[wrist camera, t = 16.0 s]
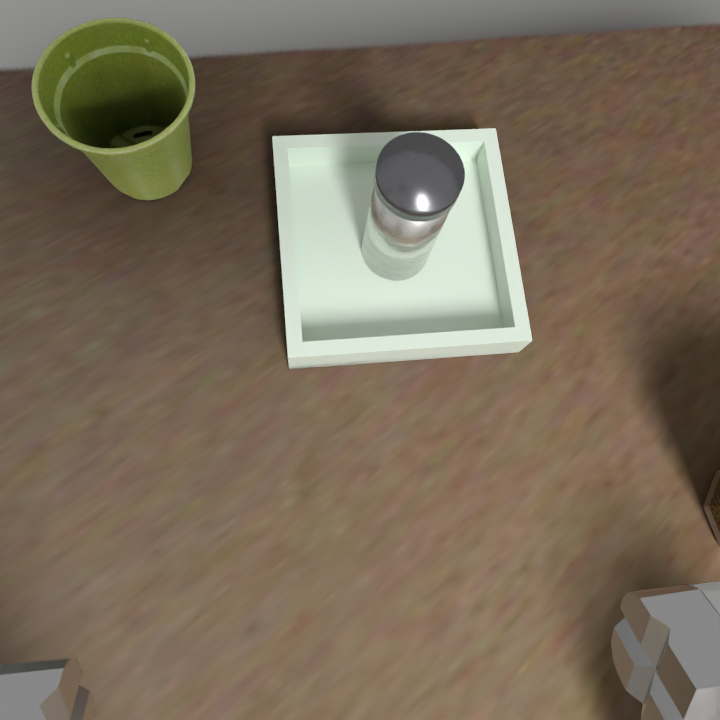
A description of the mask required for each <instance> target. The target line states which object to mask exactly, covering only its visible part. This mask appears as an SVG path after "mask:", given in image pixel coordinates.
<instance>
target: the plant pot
mask: <svg viewBox="0 0 720 720" xmlns="http://www.w3.org/2000/svg"><path fill="white" fill-rule="evenodd" d="M194 96H195V76H194V71H193V67H192V64H191V61H190V59H189V57H188V55H187V54H186V52H185V51H184V49H183V48H182V47H181V46H180V44H179V43H178V42H177V41H176V40H175V39H174V38H173V37H172V36H170V35H169V34H168V33H166V32H165V31H163V30H162V29H160V28H158V27H156V26H154V25H152V24H149V23H146V22H142V21H137V20H133V19H127V18H104V19H100V20H93V21H89V22H85V23H83V24H81V25H79V26H76V27H73V28H71V29H69V30H67V31H66V32H64V33H63V34H61V35H60V36H59V37H58V38H57V39H56V40H54V41H53V42H52V43H51V44H50V45H49V46H48V47H47V48H46V49H45V51H44V52H43V54H42V55H41V57H40V58H39V60H38V62H37V64H36V67H35V69H34V73H33V77H32V97H33V101H34V105H35V108H36V110H37V112H38V114H39V116H40V118H41V119H42V121H43V122H44V124H45V125H46V126H47V128H48V129H49V130H50V131H51V132H52V133H53V134H54V135H55V136H56V137H58V138H59V139H60V140H61V141H63V142H64V143H66V144H68V145H69V146H71V147H73V148H75V149H78V150H80V151H82V152H83V153H84V154H85V155H86V156H87V157H88V158H89V159H90V160H91V161H92V162H93V163H94V165H95V166H96V167H97V168H98V169H99V170H100V171H101V172H102V173H103V175H104V176H105V177H106V178H107V179H108V180H109V181H110V182H111V184H112V185H113V186H114V187H115V188H116V189H118V190H119V191H121V192H122V193H124V194H126V195H128V196H131V197H133V198H135V199H139V200H155V199H160V198H163V197H166V196H168V195H170V194H172V193H174V192H175V191H177V190H178V189H179V187H180V186H181V185H182V183H183V182H184V180H185V179H186V178H187V176H188V175H189V174H190V171H191V168H192V153H191V142H190V129H189V116H188V115H189V111H190V109H191V107H192V104H193V100H194ZM147 131H150V132H152V133H153V134H152V135H150V136H149V135H148V136H142V137H137V138H134V135H135V134H138V133H142V132H147Z"/></svg>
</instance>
